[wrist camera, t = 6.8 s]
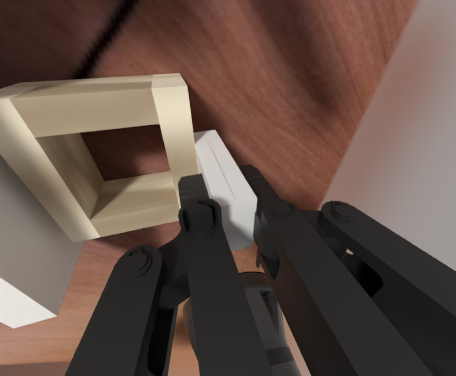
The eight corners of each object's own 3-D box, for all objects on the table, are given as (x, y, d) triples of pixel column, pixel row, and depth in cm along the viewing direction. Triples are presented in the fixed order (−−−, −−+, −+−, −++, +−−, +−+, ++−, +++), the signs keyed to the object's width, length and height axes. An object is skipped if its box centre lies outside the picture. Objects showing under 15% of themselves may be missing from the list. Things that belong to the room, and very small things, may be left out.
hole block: (195, 182, 16) (204, 215, 13) (90, 200, 15) (73, 243, 12) (179, 73, 12) (187, 85, 8) (19, 82, 10) (-43, 102, 7)
